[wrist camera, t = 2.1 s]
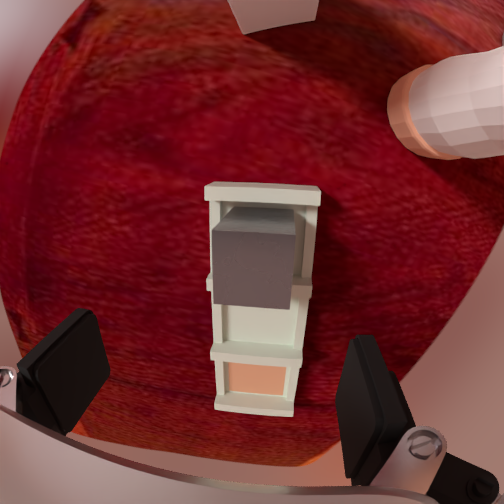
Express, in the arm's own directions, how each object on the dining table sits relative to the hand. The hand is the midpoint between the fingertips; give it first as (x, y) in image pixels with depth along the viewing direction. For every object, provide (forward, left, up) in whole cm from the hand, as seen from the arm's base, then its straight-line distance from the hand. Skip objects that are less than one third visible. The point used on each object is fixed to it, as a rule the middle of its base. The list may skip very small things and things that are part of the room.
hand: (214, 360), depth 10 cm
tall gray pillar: (0, 0, -14) cm, 14 cm away
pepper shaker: (-13, -11, -16) cm, 23 cm away
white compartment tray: (0, +7, -15) cm, 17 cm away
